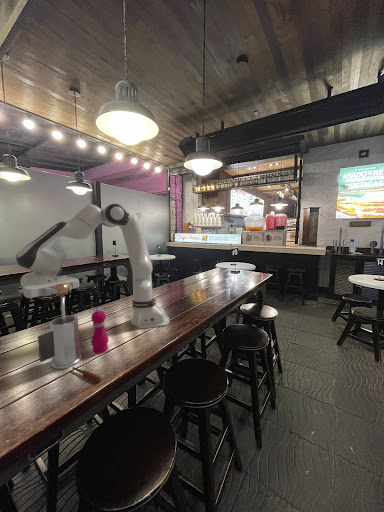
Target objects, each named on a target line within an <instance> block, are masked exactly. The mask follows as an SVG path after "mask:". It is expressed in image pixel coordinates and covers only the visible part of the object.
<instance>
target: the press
mask: <svg viewBox="0 0 384 512" xmlns="http://www.w3.org/2000/svg"><path fill="white" fill-rule="evenodd" d="M65 318H66V324H62V316H60V317H56V318H54V319H52V320H51V321H50V322H49V331H48V332H47V333H43V334H41V335H38V336H37V343H38V355H39V362H40V363H43V362H45V361H47V360H49V359H52V360H51V362H50V365H51V367H50V368H51V369H52V370H58V371H59V370H66V369H70V368H72V367H75V366H77V364H79V363H80V362H81V360H82V354H81V353H80V352H81V350H80V334H79V319H78V317H76V316H75V315H65Z"/></svg>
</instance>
